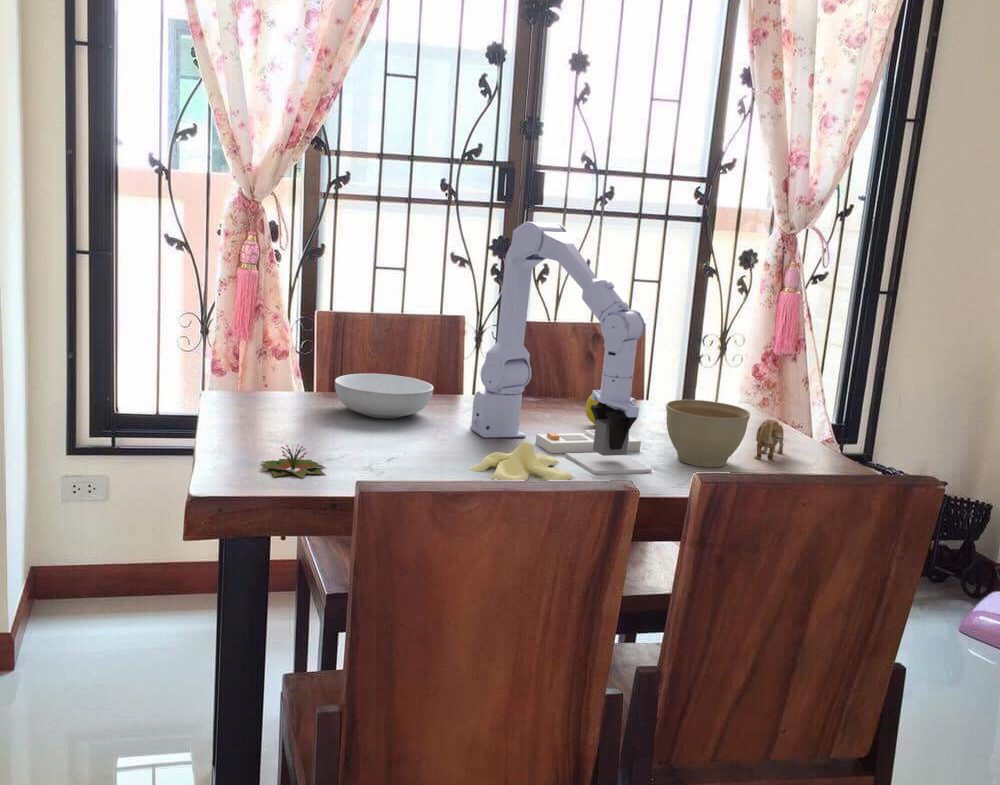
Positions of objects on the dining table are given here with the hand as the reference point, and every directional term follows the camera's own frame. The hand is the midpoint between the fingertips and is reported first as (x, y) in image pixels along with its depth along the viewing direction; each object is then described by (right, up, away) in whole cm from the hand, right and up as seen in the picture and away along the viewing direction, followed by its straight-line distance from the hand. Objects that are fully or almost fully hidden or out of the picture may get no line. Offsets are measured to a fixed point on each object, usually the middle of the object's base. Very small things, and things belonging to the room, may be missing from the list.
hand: (609, 445), depth 190 cm
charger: (0, -1, 0) cm, 1 cm away
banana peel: (-18, -5, -9) cm, 21 cm away
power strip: (-3, -1, +12) cm, 13 cm away
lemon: (+1, +2, +32) cm, 32 cm away
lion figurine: (+35, -4, +17) cm, 39 cm away
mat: (0, -4, +1) cm, 4 cm away
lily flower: (-56, -4, -20) cm, 59 cm away
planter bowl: (+19, -4, +9) cm, 21 cm away
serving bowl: (-46, +5, +26) cm, 53 cm away
